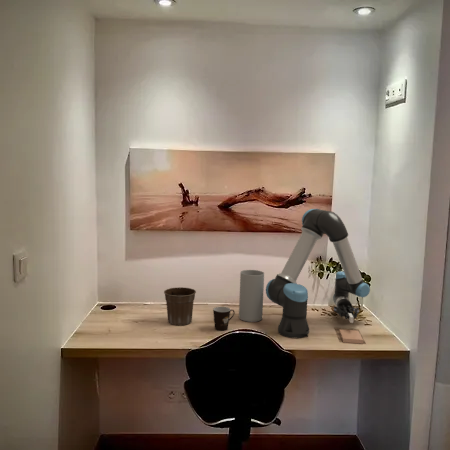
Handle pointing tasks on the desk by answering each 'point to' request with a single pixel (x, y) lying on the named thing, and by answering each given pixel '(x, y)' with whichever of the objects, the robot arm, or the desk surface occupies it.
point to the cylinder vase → (251, 295)
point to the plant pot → (179, 305)
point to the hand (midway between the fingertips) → (351, 320)
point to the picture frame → (350, 336)
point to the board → (346, 329)
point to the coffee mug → (222, 318)
